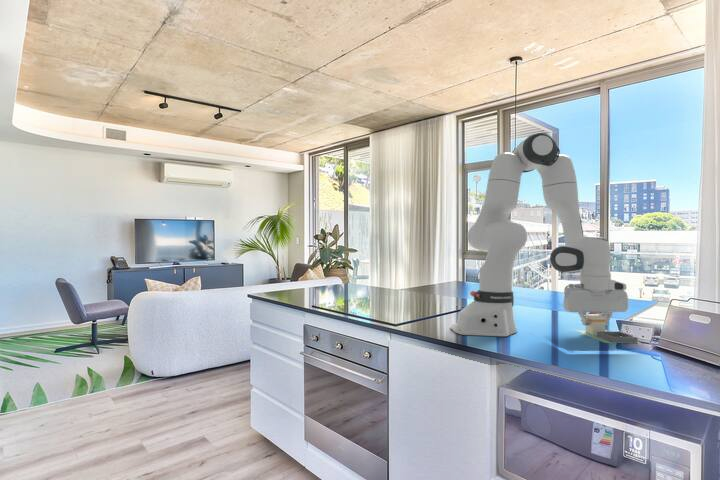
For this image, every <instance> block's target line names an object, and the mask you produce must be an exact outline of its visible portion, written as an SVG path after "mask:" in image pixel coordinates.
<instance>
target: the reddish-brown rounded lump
mask: <svg viewBox="0 0 720 480" xmlns="http://www.w3.org/2000/svg"><path fill="white" fill-rule="evenodd" d="M587 314H599V315H602V316H605V315H606V314H604V312H587ZM584 316H585V318H586V315H584ZM581 322H582V319H581Z"/></svg>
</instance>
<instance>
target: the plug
mask: <svg viewBox="0 0 720 480" xmlns="http://www.w3.org/2000/svg"><path fill="white" fill-rule="evenodd" d="M585 316H586V319H587V320H589V325H586V326H585V330H586V332H587V333H590V334H592V335H597V332H605V330H606V325H605V322H606V320H605V316H602V315H599V314H588V313H586V315H585Z"/></svg>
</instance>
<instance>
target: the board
mask: <svg viewBox="0 0 720 480" xmlns="http://www.w3.org/2000/svg"><path fill="white" fill-rule="evenodd" d="M574 331H575V332H578V333H580V334H582V335H585V336H587V337H589V338H592V339H593V340H597V341H598V342H602V343H604V344H641V341H638V336H635V335H632V334H629V333H626V332H623V331H619V330H617V331H612V330H611V331H610V330H607V329H605V332H597V335H592V334H590V333H587V332H586V329H585V330H582V329H581V330H580V329H579V330H577V329H575V330H574ZM620 336H622V337H620Z"/></svg>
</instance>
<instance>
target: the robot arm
mask: <svg viewBox="0 0 720 480" xmlns="http://www.w3.org/2000/svg"><path fill="white" fill-rule="evenodd" d="M560 152H561V150H560V148H559V147H558V146H557V143H556V141H555V139H554V137H553V136H551V135H550V134H549V133H547V132H544V131H543V132H534V133H532V134H530V135H529V136H528V137H526V138H525V139H524V140H522V141H521V142H520V143H519V144H518V145H517V146H516V147H515V148H514V149H513V150H512V151H511V152H510V151H509V152H501V153H499V154H496V156H495V157H494V159H493V160H492V161H493V162H492V164H491V167H490V170H489V174H488V178H487V179H488V180H487V185H486V189H485V190H486V191H485V196H484V201H483V205H482V206H481V207H482V208H481V210H480V212H479V215H478V217H477V219H476V220H475V222H474V224H473V225H472V226H471V227H470V228H469V230H468V232H467V242H468V243H469V245H470V246H471V247H472V248H474V249H476V250H479V251H481V252H487V253H486V257H485V261H484V262H483V264H482V265H481V266H480V268H479V271H478V272H479V273H478V274H479V277H478V278H479V280H478V281H479V283H478V284H479V289H478V290H476V291H475V290H470V293H469V296H470V297H473V301H472V302H470V303H469V304H468V305H466V306H464V308H462V309H460V311H459V313H458V316H457V322H456V323H453V324H451V326H450V328H451V330H452V331H453V332H454V333H455V334H458V335H463V336H483V337H484V336H487V337H490V336H491V337H509V336H510V335H513V334H516V333H517V332H518V331H517V328H516V323H515V318H514V311H513V310H514V309H513V307H514V299H515V298H514V292H513V270H514V264H515V261H516V259H517V256H518V254H519V252H520V251H521V249H523V248H524V246H525V245H526V243H527V240H528V233H527V230H526V228H525V226H524V225H522V223H519V222H517V221H512V220H508V218H509V216H510V215H511V213H512V212H513V211H515V209H516V208H517V205H518V200H519V193H520V188H521V187H520V186H521V179H522V175H523V173H529V172H532V171H534V170H536V171H537V172H538V173H539V175H540V179H541V185H542V187H541V188H542V195H543V199H544V202H545V205H546V207H547V208H548V209H549V210H551V211H552V212H553V213H554V214H555V215H556V217H558V219H559V220H560V222H561V226H562V231H563V237H564V245H559V246H558V247H555V248H554V249H553V250H552V251H551V252H550V256H549V263H550V264H551V266H552V268H553V269H554V270H556V271H558V272H561V273H565V274H566V273H567V274H568V273H580V276H579V277H580V281H579V282H580V283H575V284H574V283H569V284H568V285H566V286H565V287H564V289H563V292H564V296H563V304H562V305H563V306H562V307H563V309H564V311H566V312H569V313H578V315H579V317H580V319H581V320H582V321H581V324H582V326H584V327H586V325H589V320H587V319H586V318H585V316H586V314H587V313H590V312H603V313H604V315H605V320H606V322H605V326H609V323H610V322H609V321H610V319H611V318H612V317H613V313H625V312H627V311H628V309H629V295H628V293H627V291H626V289H627V284H625V283H623V282H621V281H617V280H615V279H612V274H611V271H610V266H611V263H612V259H611V258H612V257H611V255H612V254H611V245H610V242H609V241H608V240H607V238H605V237H602V236H597V235H590V234H588V235H587V234H586V235H585V234H584V229H583V224H582V219H581V214H580V205H579V191H578V190H579V189H578V182H577V176H576V171H575V168H574V164H573V161H572V159H571V158H570V156H568V155H566V154H562V153H560Z"/></svg>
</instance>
